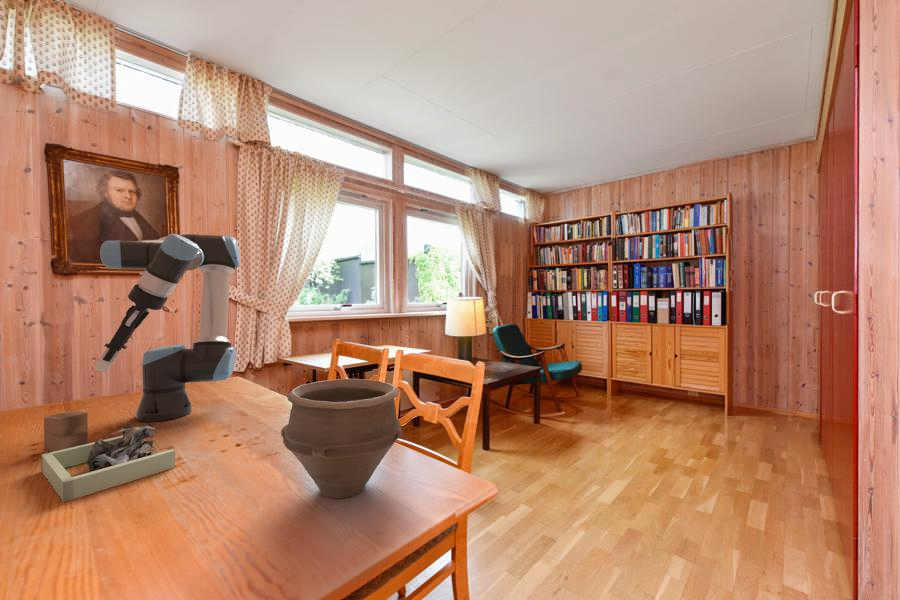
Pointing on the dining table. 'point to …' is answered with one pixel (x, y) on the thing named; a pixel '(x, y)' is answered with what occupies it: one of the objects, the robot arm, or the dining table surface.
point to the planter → (342, 431)
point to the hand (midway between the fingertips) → (100, 369)
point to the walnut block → (65, 430)
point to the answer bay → (99, 478)
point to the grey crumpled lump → (122, 447)
